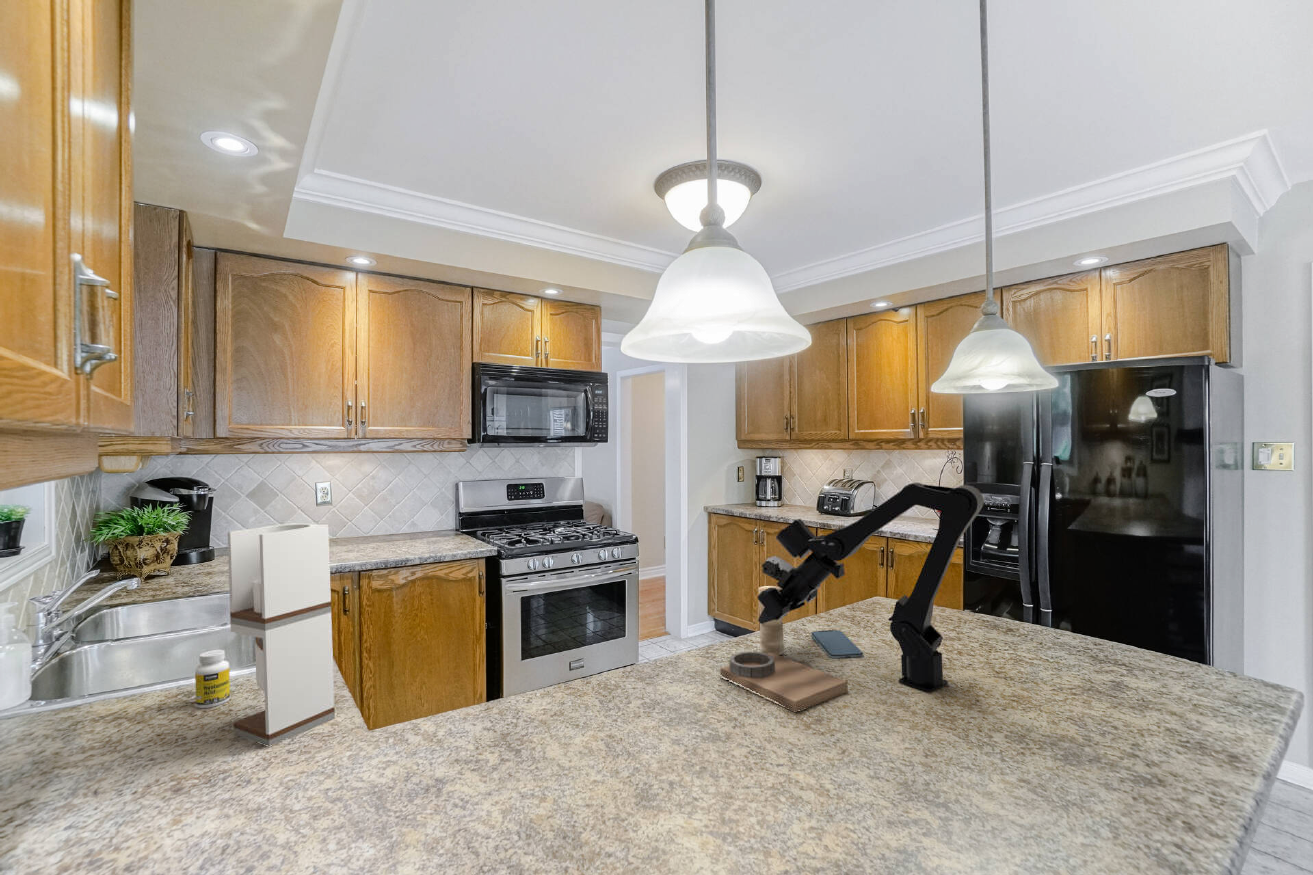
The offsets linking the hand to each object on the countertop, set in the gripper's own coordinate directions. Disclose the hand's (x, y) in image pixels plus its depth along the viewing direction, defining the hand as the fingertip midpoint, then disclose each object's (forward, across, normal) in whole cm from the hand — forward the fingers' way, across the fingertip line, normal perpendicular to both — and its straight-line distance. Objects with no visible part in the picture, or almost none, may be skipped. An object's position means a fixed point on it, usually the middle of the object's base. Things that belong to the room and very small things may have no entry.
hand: (765, 618), depth 135 cm
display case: (+44, +78, -33) cm, 95 cm away
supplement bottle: (+60, +82, -50) cm, 113 cm away
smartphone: (-2, -12, +14) cm, 18 cm away
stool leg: (+4, 0, +6) cm, 7 cm away
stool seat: (-2, +15, +13) cm, 20 cm away
